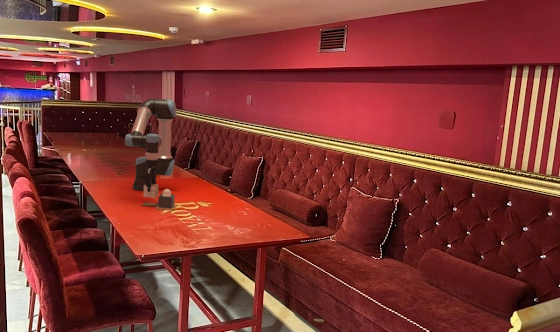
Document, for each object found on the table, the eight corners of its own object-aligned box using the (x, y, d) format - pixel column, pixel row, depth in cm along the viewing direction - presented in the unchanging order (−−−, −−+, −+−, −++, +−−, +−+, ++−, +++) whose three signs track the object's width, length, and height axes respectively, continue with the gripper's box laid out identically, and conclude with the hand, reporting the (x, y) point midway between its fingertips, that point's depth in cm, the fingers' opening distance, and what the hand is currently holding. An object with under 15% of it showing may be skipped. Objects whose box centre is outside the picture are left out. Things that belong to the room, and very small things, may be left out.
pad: (145, 202, 299) (145, 201, 299) (159, 203, 299) (159, 202, 299) (141, 205, 290) (141, 205, 290) (155, 206, 290) (155, 206, 290)
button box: (160, 205, 295) (160, 193, 294) (176, 206, 295) (176, 194, 294) (156, 209, 285) (156, 196, 284) (172, 210, 285) (173, 197, 284)
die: (146, 194, 297) (147, 183, 296) (157, 195, 297) (158, 184, 296) (143, 196, 290) (143, 185, 289) (154, 197, 290) (155, 186, 289)
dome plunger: (163, 203, 292) (163, 187, 291) (171, 203, 292) (172, 188, 291) (161, 205, 287) (161, 189, 286) (169, 205, 287) (170, 190, 286)
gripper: (150, 156, 300) (149, 191, 303) (141, 160, 280) (140, 198, 283) (162, 157, 300) (160, 192, 303) (153, 161, 280) (152, 199, 283)
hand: (150, 195), depth 293 cm, fingers closed on die, 7 cm apart
